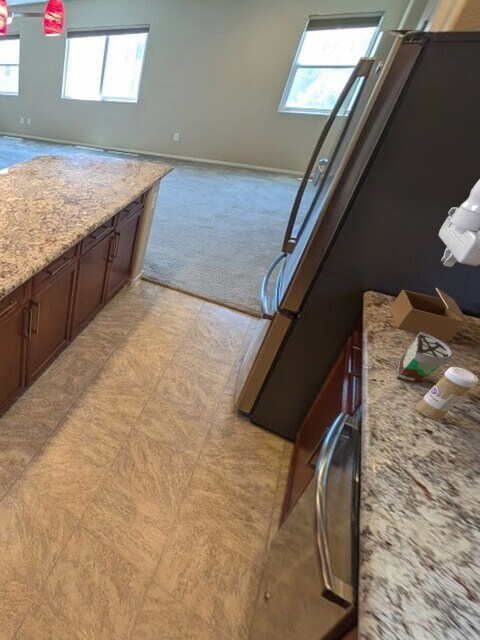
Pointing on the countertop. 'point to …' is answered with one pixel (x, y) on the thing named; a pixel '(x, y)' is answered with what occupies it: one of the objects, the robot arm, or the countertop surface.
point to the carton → (425, 315)
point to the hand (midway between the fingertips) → (445, 264)
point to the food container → (422, 358)
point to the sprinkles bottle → (446, 393)
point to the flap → (451, 304)
